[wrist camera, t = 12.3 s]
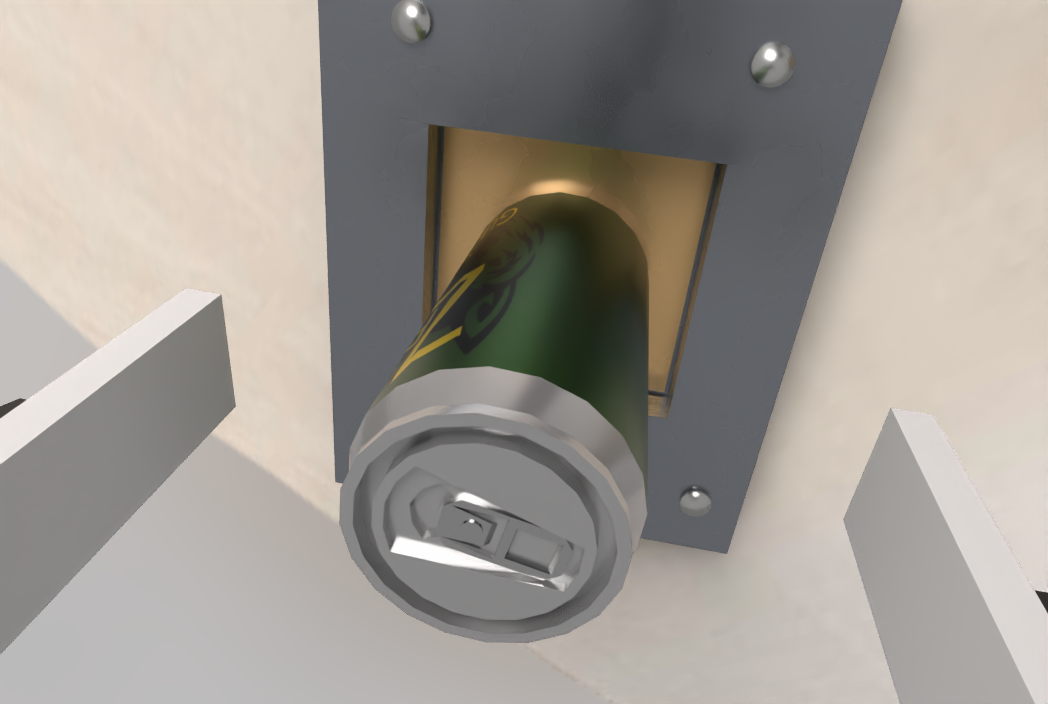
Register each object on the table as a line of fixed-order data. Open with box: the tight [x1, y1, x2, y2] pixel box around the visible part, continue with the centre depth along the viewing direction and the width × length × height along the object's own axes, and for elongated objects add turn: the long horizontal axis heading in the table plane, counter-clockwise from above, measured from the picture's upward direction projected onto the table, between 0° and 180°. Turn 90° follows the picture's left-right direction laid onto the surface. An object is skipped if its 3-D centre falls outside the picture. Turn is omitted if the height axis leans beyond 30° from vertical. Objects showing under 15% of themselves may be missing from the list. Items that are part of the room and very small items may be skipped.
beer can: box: [339, 192, 649, 643], centre depth 17 cm, size 5×5×12 cm
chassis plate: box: [318, 0, 902, 554], centre depth 22 cm, size 18×14×2 cm
